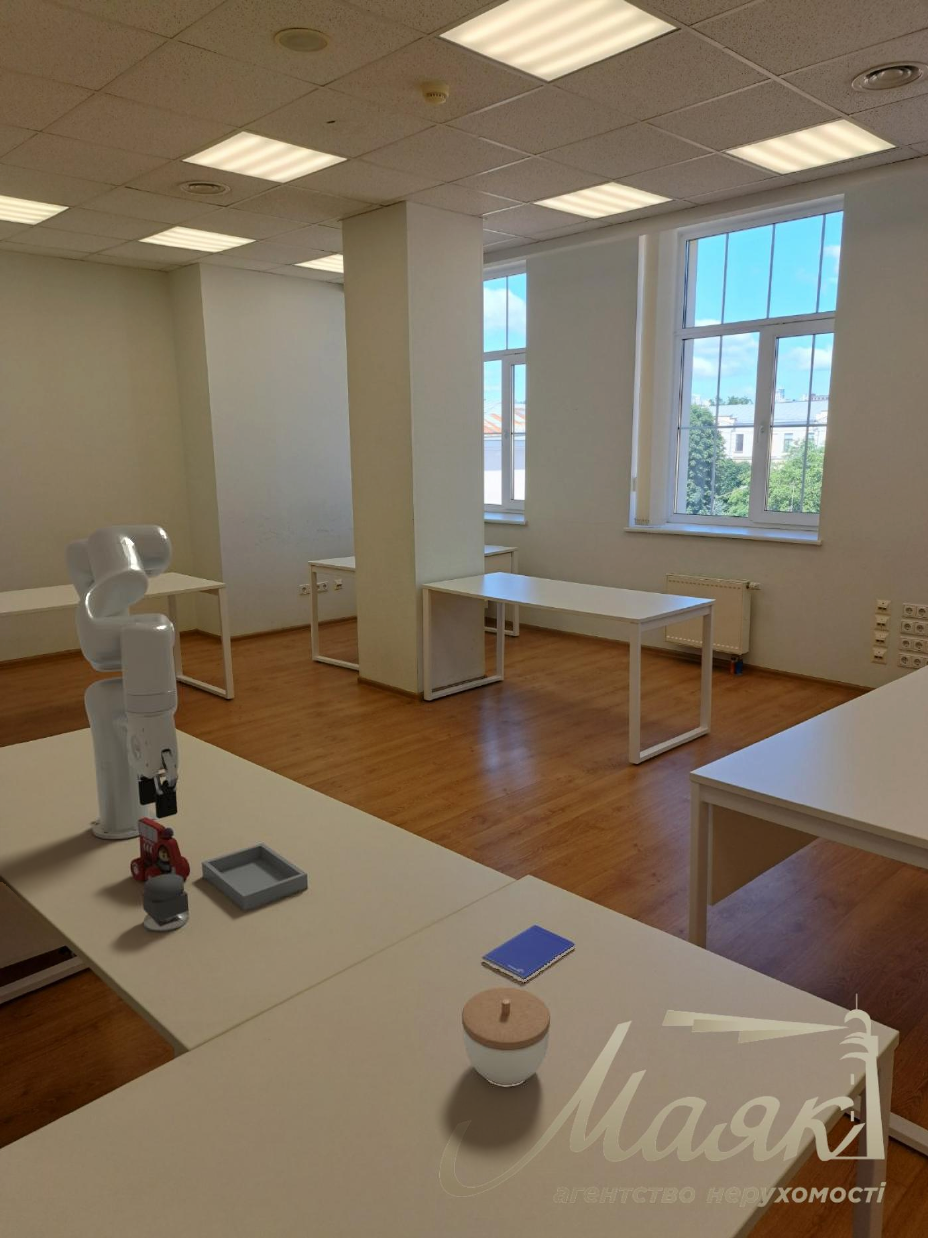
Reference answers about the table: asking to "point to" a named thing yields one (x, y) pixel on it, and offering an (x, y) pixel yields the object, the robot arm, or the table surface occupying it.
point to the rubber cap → (165, 897)
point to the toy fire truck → (157, 853)
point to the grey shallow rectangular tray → (254, 876)
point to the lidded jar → (505, 1034)
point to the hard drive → (528, 951)
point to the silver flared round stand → (166, 923)
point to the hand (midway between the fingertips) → (158, 808)
